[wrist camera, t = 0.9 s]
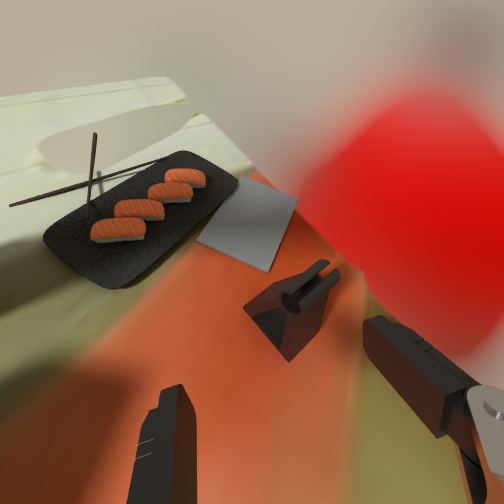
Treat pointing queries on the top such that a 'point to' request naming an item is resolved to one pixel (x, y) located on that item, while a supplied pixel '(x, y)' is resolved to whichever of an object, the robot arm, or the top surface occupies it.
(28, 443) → the top surface
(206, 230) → the mat
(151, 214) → the sushi plate
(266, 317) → the phone stand
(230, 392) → the top surface
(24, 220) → the top surface
